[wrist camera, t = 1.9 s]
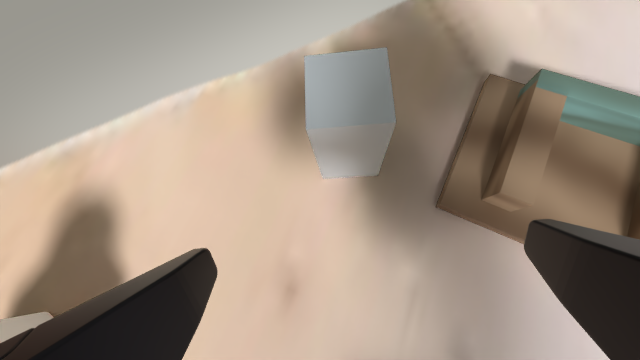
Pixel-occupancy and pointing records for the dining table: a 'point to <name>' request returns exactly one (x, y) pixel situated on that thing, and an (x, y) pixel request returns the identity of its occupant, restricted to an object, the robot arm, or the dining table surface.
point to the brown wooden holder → (548, 157)
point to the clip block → (349, 111)
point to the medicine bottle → (21, 324)
